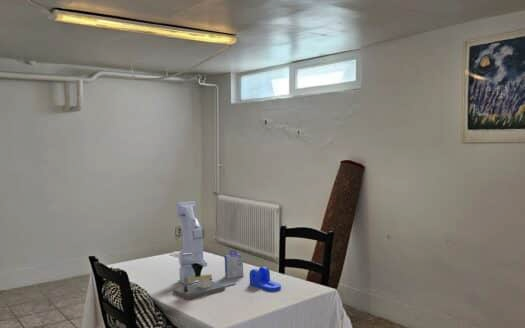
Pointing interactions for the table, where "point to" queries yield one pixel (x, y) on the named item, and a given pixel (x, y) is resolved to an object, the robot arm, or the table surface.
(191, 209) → the robot arm
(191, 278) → the brass flat bar
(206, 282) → the plug
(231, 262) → the ink cartridge box
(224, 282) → the mat
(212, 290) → the grey panel
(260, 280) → the bracket
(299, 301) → the table surface
